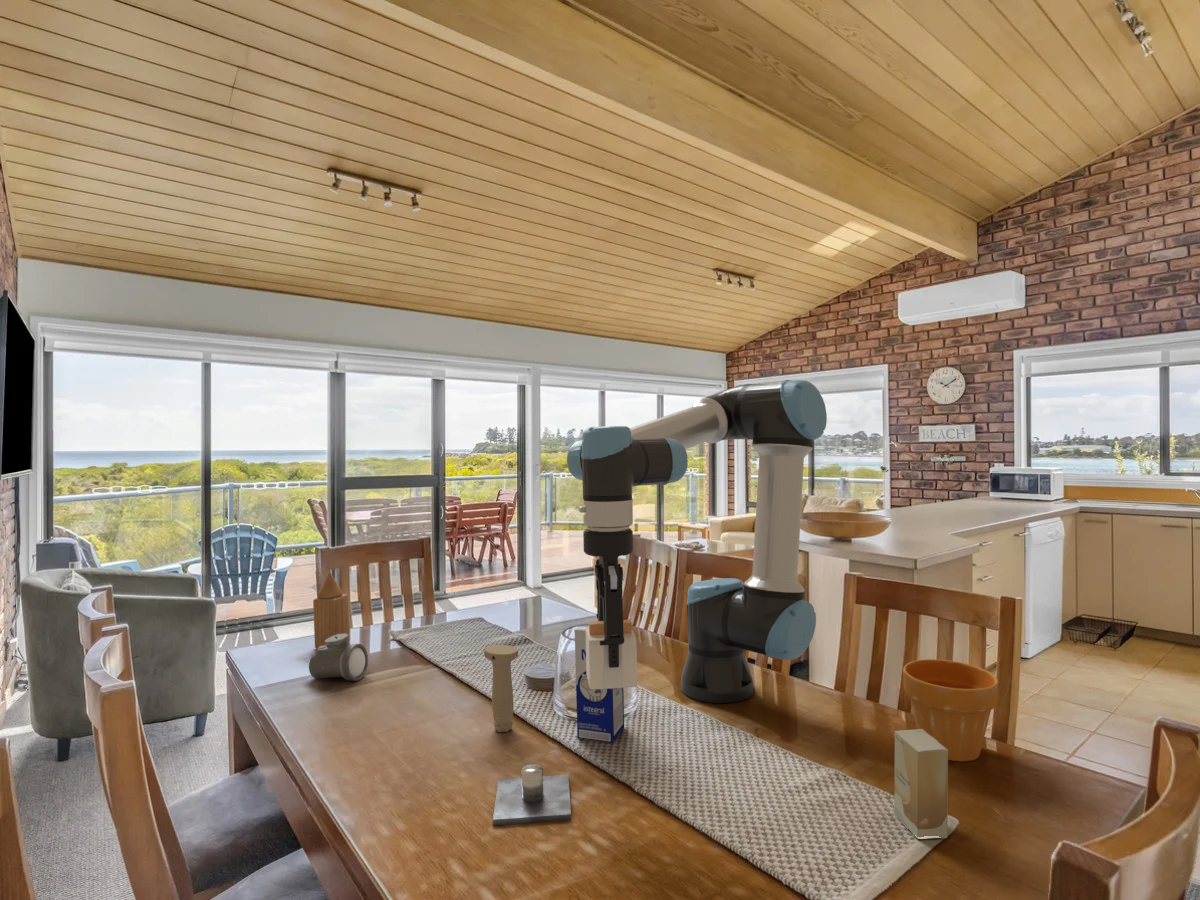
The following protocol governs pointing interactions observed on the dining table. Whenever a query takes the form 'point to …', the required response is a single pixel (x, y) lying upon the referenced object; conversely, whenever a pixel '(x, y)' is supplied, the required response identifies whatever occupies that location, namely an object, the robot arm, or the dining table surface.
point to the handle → (502, 685)
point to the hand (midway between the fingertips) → (610, 677)
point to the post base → (532, 809)
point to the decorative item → (330, 612)
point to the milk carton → (596, 702)
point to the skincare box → (921, 783)
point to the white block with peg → (596, 655)
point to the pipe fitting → (339, 659)
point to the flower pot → (951, 703)
